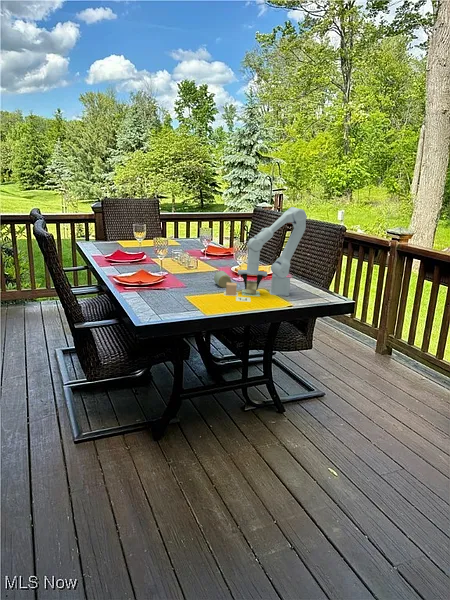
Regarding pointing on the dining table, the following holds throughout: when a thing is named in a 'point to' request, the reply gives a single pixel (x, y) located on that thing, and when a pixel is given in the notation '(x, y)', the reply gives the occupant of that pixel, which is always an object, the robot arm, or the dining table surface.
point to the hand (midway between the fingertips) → (251, 288)
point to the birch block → (251, 287)
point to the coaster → (250, 293)
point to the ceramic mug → (222, 279)
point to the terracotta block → (231, 288)
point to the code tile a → (243, 299)
